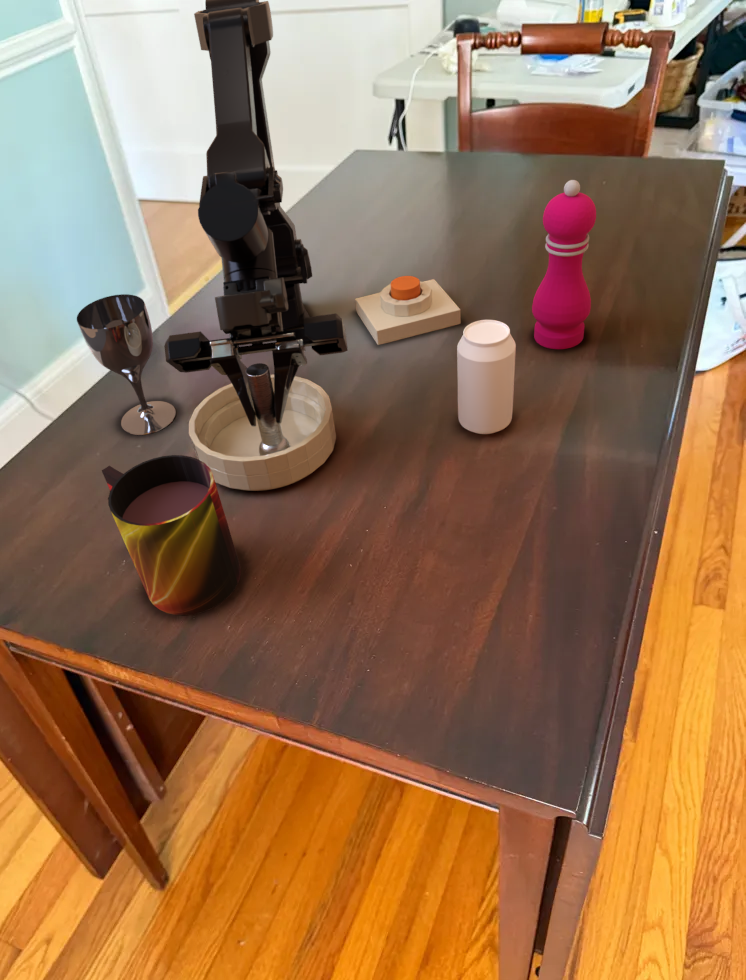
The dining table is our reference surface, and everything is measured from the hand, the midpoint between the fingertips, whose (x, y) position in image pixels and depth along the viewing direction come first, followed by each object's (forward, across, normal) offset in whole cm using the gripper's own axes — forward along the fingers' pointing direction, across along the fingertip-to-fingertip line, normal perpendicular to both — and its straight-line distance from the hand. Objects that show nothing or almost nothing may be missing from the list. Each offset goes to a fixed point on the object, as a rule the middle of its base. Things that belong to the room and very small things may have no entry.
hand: (265, 424), depth 83 cm
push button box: (-18, +17, +29) cm, 38 cm away
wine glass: (-5, -18, +16) cm, 24 cm away
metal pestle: (+3, 0, +6) cm, 7 cm away
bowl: (+1, -2, +10) cm, 10 cm away
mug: (+15, -10, -4) cm, 19 cm away
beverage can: (+1, +24, +11) cm, 26 cm away
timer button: (-20, +17, +26) cm, 37 cm away
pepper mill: (-11, +36, +23) cm, 44 cm away
